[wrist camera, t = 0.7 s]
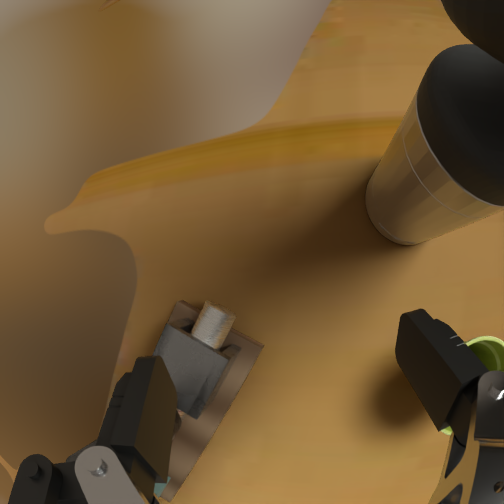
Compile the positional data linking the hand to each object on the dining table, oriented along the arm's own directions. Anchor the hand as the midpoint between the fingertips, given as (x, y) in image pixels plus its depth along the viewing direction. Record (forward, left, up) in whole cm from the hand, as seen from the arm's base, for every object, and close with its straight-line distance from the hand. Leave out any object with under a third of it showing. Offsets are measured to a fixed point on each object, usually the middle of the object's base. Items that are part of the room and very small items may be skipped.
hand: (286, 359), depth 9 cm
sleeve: (+10, -6, -20) cm, 23 cm away
